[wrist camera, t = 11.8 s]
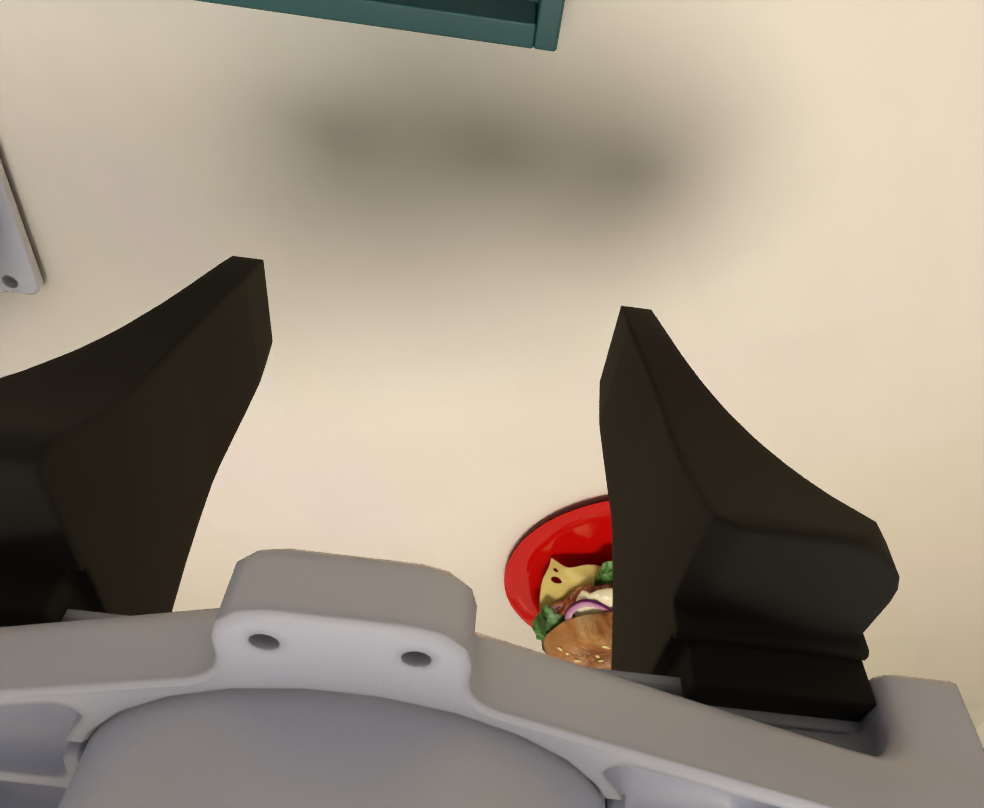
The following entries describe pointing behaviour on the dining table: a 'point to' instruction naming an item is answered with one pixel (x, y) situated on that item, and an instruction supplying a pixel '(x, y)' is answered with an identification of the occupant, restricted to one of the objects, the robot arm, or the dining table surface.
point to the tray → (437, 17)
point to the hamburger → (567, 585)
